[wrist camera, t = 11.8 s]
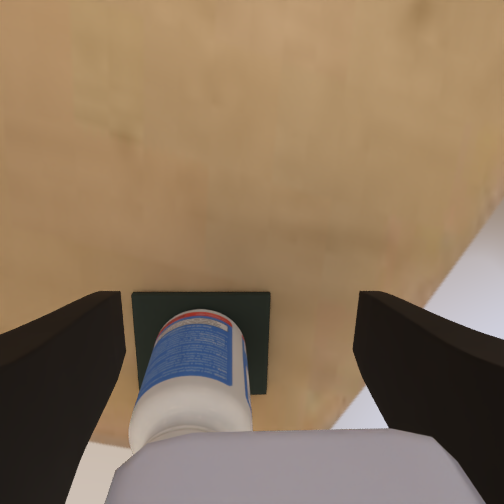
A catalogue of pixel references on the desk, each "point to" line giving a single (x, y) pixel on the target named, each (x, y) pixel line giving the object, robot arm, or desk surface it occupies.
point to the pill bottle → (193, 381)
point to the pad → (227, 303)
